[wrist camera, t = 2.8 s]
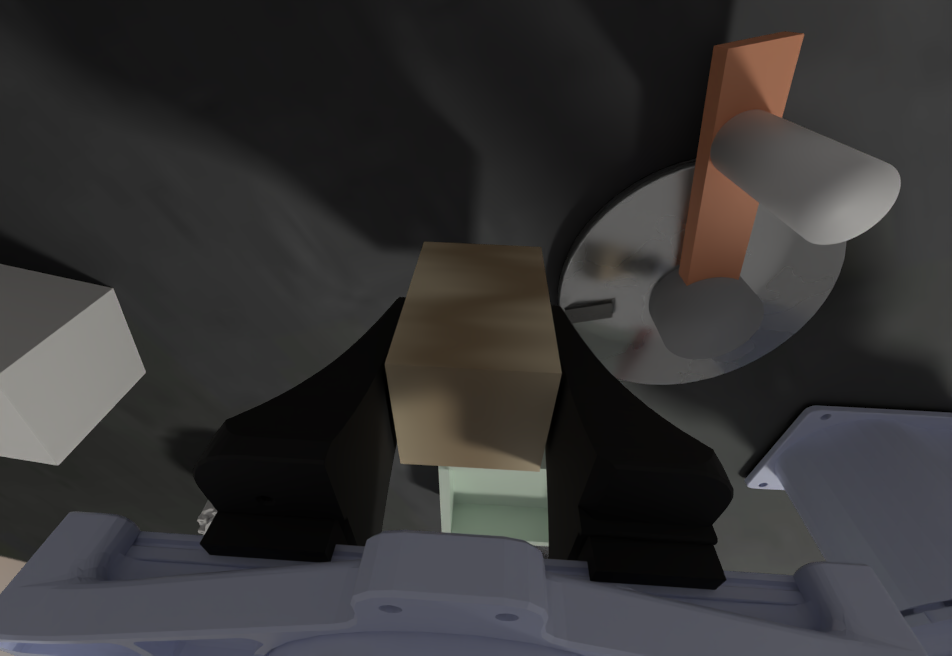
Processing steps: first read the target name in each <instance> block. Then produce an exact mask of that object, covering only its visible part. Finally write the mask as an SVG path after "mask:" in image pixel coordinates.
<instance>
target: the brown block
mask: <svg viewBox="0 0 952 656" xmlns="http://www.w3.org/2000/svg"><path fill="white" fill-rule="evenodd" d="M385 369H386V376H387V382H388V388H389V394H390V400H391V406H392V413H393V419H394V425H395V431H396V437H397V444H398V450H399V456H400V462H401V464H415V465H433V466H450V467H467V468H484V469H501V470H518V471H535V472H540V467H541V463H542V458H543V454H544V450H545V445H546V441H547V436H548V432H549V428H550V423H551V419H552V415H553V410H554V406H555V401H556V397H557V393H558V388H559V384H560V379H561V375H562V371H561V365H560V359H559V353H558V347H557V341H556V334H555V328H554V322H553V316H552V310H551V304H550V298H549V292H548V285H547V279H546V273H545V267H544V261H543V255H542V249H541V247H530V246H508V245H487V244H466V243H444V242H424V243H423V246H422V250H421V253H420V256H419V259H418V262H417V265H416V268H415V271H414V274H413V277H412V281H411V284H410V287H409V290H408V293H407V296H406V299H405V302H404V305H403V308H402V312H401V315H400V318H399V321H398V324H397V327H396V330H395V333H394V336H393V340H392V343H391V346H390V349H389V352H388V355H387V358H386V361H385Z"/></svg>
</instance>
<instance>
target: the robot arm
mask: <svg viewBox="0 0 952 656" xmlns="http://www.w3.org/2000/svg"><path fill="white" fill-rule="evenodd" d="M405 299H406V298H404V297H399V298H398V299H397V300H396V301H395V302H394V303H393V304H392V305H391V307H390V308H389V309H388V310H387V311H386V312H385V313H384V314H383V316H382V317H381V318H380V319H379V320H378V321H377V322H376V323H375V324H374V325H373V326H372V327H371V328H370V329H369V330H368V331H367V332H366V333H365V334H364V335H363V336H362V337H361V338H360V339H359V340H358V341H357V342H356V343H355V344H353V345H352V346H351V347H350V348H349V349H348V350H347V351H346V352H344V353H343V354H342V355H341V356H340V357H338V358H337V359H336V360H335V361H333V362H332V363H331V364H329V365H328V366H327V367H325V368H324V369H322V370H321V371H319V372H318V373H316V374H315V375H313V376H312V377H310V378H308V379H307V380H305V381H304V382H302V383H301V384H299V385H297V386H296V387H294V388H292V389H290V390H288V391H287V392H285V393H283V394H281V395H279V396H277V397H275V398H273V399H271V400H270V401H268V402H265V403H263V404H261V405H259V406H257V407H255V408H252V409H250V410H248V411H246V412H243V413H241V414H239V415H237V416H234V417H232V418H229V419H227V420H226V421H225V422H224V423H223V425H222V426H221V427H220V429H219V430H218V431H217V433H216V434H215V436H214V437H213V439H212V440H211V442H210V443H209V445H208V446H207V448H206V450H205V451H204V453H203V454H202V456H201V457H200V459H199V460H198V462H197V463H196V465H195V467H194V468H193V477H194V479H195V481H196V483H197V485H198V487H199V488H200V489H201V491H202V492H203V493H204V495H205V496H206V497H207V499H208V500H209V501H210V502H211V504H212V505H213V506H214V508H215V509H216V510H217V513H216V515H215V517H214V518H213V520H212V522H211V524H210V526H209V527H208V529H207V531H206V533H205V535H191V534H176V533H161V532H147V531H140V529H139V528H138V526H137V525H136V524H135V523H134V522H133V521H132V520H130V519H128V518H126V517H124V516H121V515H116V514H107V513H92V512H78V511H74V512H70V513H69V514H68V515H67V516H66V517H65V518H64V519H63V521H62V522H61V523H60V524H59V525H58V527H57V528H56V529H55V530H54V531H53V532H52V534H51V535H50V536H49V537H48V538H47V540H46V541H45V542H44V543H43V544H42V545H41V547H40V548H39V549H38V550H37V551H36V553H35V554H34V555H33V556H32V557H31V558H30V560H29V561H28V562H27V563H26V564H25V566H24V567H23V568H22V569H21V570H20V572H19V573H18V574H17V575H16V576H15V577H14V579H13V580H12V581H11V582H10V583H9V585H8V586H7V587H6V588H5V589H4V591H2V593H1V594H0V650H2V651H4V652H7V653H10V654H13V655H15V656H952V413H950V412H931V411H912V410H894V409H875V408H856V407H838V406H819V405H815V406H810V407H808V408H806V409H805V410H803V412H802V413H801V414H800V415H799V416H798V418H797V419H796V420H795V421H794V422H793V423H792V425H791V426H790V427H789V428H788V429H787V430H786V432H785V433H784V434H783V435H782V436H781V438H780V439H779V440H778V441H777V442H776V443H775V445H774V446H773V447H772V448H771V449H770V450H769V452H768V453H767V454H766V455H765V456H764V457H763V459H762V460H761V461H760V462H759V463H758V465H757V466H756V467H755V468H754V469H753V470H752V472H751V473H750V474H749V475H748V476H747V477H746V479H745V483H746V485H747V487H749V488H758V489H776V490H785V491H786V493H787V495H788V496H789V498H790V500H791V501H792V503H793V505H794V507H795V508H796V510H797V512H798V513H799V515H800V517H801V519H802V520H803V522H804V524H805V526H806V527H807V529H808V531H809V532H810V534H811V536H812V538H813V539H814V541H815V543H816V545H817V546H818V548H819V550H820V551H821V553H822V555H823V557H824V558H825V560H826V562H813V563H808V564H806V565H804V566H802V567H800V568H799V569H798V570H797V571H796V572H795V573H794V575H780V574H765V573H751V572H736V571H723V569H722V566H721V564H720V561H719V559H718V556H717V553H716V551H715V548H714V546H713V545H716V544H717V536H716V533H715V531H714V528H713V526H712V524H713V523H714V522H715V521H716V520H717V519H718V517H719V516H720V515H721V514H722V513H723V512H724V510H725V509H726V508H727V507H728V505H729V504H730V502H731V500H732V498H733V487H732V485H731V483H730V481H729V479H728V477H727V474H726V472H725V470H724V468H723V466H722V464H721V462H720V461H719V459H718V457H717V456H716V454H715V452H714V450H713V449H711V448H710V447H708V446H706V445H705V444H703V443H701V442H700V441H698V440H696V439H695V438H693V437H691V436H690V435H688V434H687V433H685V432H683V431H682V430H680V429H679V428H677V427H676V426H674V425H673V424H671V423H670V422H668V421H667V420H666V419H664V418H663V417H661V416H660V415H658V414H657V413H656V412H654V411H653V410H652V409H650V408H649V407H648V406H647V405H645V404H644V403H643V402H642V401H641V400H639V399H638V398H637V397H636V396H635V395H633V394H632V393H631V392H630V391H629V390H628V389H627V388H625V387H624V386H623V385H622V384H621V383H620V382H619V381H618V380H617V379H616V378H615V377H614V376H613V375H612V374H611V373H610V372H609V371H608V370H607V368H606V367H605V366H604V365H603V364H602V363H601V362H600V360H599V359H598V358H597V357H596V356H595V354H594V353H593V352H592V351H591V349H590V348H589V347H588V345H587V344H586V343H585V341H584V340H583V339H582V337H581V336H580V335H579V333H578V332H577V330H576V329H575V327H574V326H573V324H572V323H571V321H570V320H569V318H568V317H567V315H566V313H565V312H564V310H563V309H562V308H561V306H552V305H551V310H552V316H553V322H554V328H555V334H556V341H557V347H558V353H559V359H560V365H561V371H562V375H561V379H560V384H559V388H558V393H557V397H556V401H555V406H554V410H553V415H552V419H551V423H550V428H549V432H548V436H547V441H546V445H545V456H546V476H547V500H548V533H549V559H544V558H543V555H542V552H541V551H540V550H539V549H538V548H537V547H535V546H533V545H532V544H530V543H528V542H526V541H525V540H520V539H515V538H510V537H505V536H491V535H476V534H461V533H446V532H431V531H416V530H391V531H383V532H382V525H383V518H384V512H385V506H386V500H387V493H388V487H389V482H390V476H391V470H392V465H393V459H394V454H395V449H396V443H397V437H396V431H395V425H394V419H393V413H392V406H391V400H390V394H389V388H388V382H387V376H386V369H385V361H386V358H387V355H388V352H389V349H390V346H391V343H392V340H393V336H394V333H395V330H396V327H397V324H398V321H399V318H400V315H401V312H402V308H403V305H404V302H405Z"/></svg>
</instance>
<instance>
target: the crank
mask: <svg viewBox="0 0 952 656" xmlns="http://www.w3.org/2000/svg"><path fill="white" fill-rule="evenodd" d="M803 37H804V34H803V33H794V32H786V31H784V32H779V33H774V34H769V35H764V36H759V37H754V38H749V39H744V40H739V41H734V42H729V43H724V44H719V45H714V48H713V54H712V61H711V67H710V73H709V80H708V86H707V93H706V99H705V106H704V112H703V119H702V125H701V131H700V138H699V144H698V151H697V157H696V164H695V170H694V177H693V183H692V189H691V196H690V202H689V209H688V215H687V222H686V228H685V235H684V241H683V247H682V254H681V260H680V267H679V268H678V269H676V270H674V271H672V272H671V273H669V274H668V275H667V276H665V277H664V278H663V279H662V280H661V281H660V282H659V283H658V285H657V286H656V287H655V289H654V290H653V292H652V294H651V297H650V300H649V312H650V315H651V318H652V320H653V322H654V324H655V326H656V328H657V330H658V332H659V334H660V337H661V339H662V341H663V343H664V345H665V346H666V348H667V349H668V350H669V351H670V352H672V353H673V354H675V355H677V356H679V357H682V358H686V359H697V360H698V359H709V358H714V357H718V356H721V355H724V354H726V353H729V352H731V351H733V350H735V349H736V348H738V347H740V346H741V345H743V344H744V343H745V342H747V341H748V340H749V339H750V338H751V337H752V336H753V335H754V334H755V332H756V331H757V330H758V328H759V327H760V325H761V322H762V320H763V316H764V308H763V304H762V302H761V300H760V298H759V297H758V296H757V295H756V294H755V292H754V291H753V290H752V289H751V288H750V287H749V286H748V284H747V283H746V282H745V281H744V280H743V279H742V277H741V276H740V273H741V269H742V265H743V262H744V258H745V254H746V250H747V247H748V243H749V239H750V235H751V232H752V228H753V224H754V220H755V217H756V213H757V209H758V206H759V203H760V204H761V205H762V206H764V207H765V208H766V209H767V210H769V211H770V212H771V213H773V214H774V215H775V216H776V217H778V218H779V219H780V220H781V221H783V222H784V223H785V224H786V225H788V226H789V227H790V228H791V229H793V230H794V231H795V232H797V233H798V234H799V235H800V236H802V237H803V238H804V239H805V240H807V241H809V242H811V243H814V244H819V245H831V244H837V243H841V242H844V241H847V240H850V239H852V238H854V237H856V236H858V235H860V234H862V233H864V232H865V231H867V230H868V229H870V228H871V227H872V226H874V225H875V224H876V223H877V222H879V221H880V220H881V219H882V218H883V217H884V216H885V215H886V214H887V212H888V211H889V210H890V209H891V207H892V206H893V204H894V202H895V201H896V199H897V196H898V194H899V191H900V185H901V181H900V176H899V173H898V171H897V170H896V169H895V168H894V167H893V166H892V165H890V164H889V163H886V162H884V161H882V160H879V159H877V158H875V157H872V156H870V155H868V154H865V153H863V152H860V151H858V150H856V149H853V148H851V147H849V146H846V145H844V144H842V143H839V142H837V141H835V140H832V139H830V138H828V137H825V136H823V135H821V134H818V133H816V132H814V131H811V130H809V129H807V128H804V127H802V126H800V125H797V124H795V123H793V122H790V121H788V120H785V119H783V118H782V116H783V112H784V108H785V104H786V101H787V97H788V93H789V89H790V86H791V82H792V78H793V74H794V71H795V67H796V63H797V59H798V56H799V52H800V48H801V44H802V41H803Z"/></svg>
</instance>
